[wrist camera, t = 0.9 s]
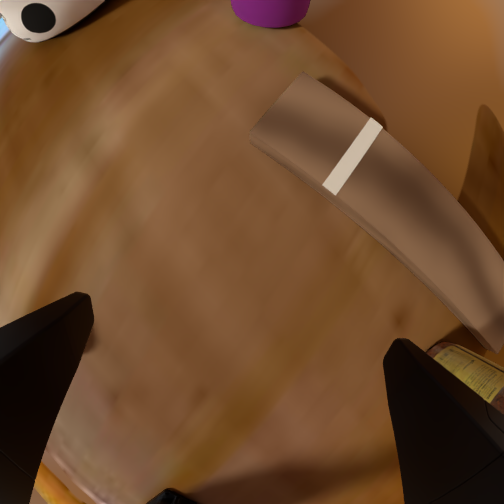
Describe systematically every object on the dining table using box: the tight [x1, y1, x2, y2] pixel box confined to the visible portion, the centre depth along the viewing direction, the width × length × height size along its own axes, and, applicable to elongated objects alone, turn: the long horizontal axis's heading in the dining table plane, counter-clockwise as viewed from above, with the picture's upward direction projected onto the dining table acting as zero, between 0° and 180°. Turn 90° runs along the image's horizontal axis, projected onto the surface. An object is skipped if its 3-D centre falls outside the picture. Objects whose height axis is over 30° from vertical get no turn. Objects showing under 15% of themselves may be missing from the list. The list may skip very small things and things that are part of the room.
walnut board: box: [249, 72, 504, 354], centre depth 21 cm, size 7×32×3 cm, turn 53°
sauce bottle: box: [426, 342, 504, 414], centre depth 13 cm, size 7×6×20 cm
